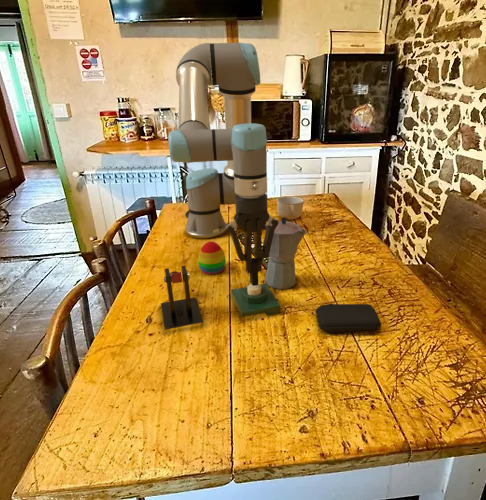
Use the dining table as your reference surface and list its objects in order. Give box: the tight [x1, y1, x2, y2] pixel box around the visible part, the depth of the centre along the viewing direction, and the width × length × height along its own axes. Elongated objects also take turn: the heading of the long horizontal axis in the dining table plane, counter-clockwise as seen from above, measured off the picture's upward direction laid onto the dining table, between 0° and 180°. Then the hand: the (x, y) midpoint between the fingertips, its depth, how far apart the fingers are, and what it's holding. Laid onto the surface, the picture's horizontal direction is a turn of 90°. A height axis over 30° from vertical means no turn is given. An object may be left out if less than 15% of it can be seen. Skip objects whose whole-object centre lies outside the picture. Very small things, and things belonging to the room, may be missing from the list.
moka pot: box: [252, 217, 308, 290], centre depth 111 cm, size 10×15×20 cm, turn 78°
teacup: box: [276, 195, 304, 221], centre depth 162 cm, size 14×11×8 cm
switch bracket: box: [160, 265, 204, 331], centre depth 97 cm, size 12×9×13 cm
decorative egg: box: [197, 240, 227, 275], centre depth 119 cm, size 8×8×10 cm
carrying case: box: [315, 302, 382, 333], centre depth 96 cm, size 11×3×15 cm
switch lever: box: [170, 270, 183, 284], centre depth 100 cm, size 13×3×3 cm, turn 18°
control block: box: [230, 283, 281, 318], centre depth 103 cm, size 12×10×4 cm
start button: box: [246, 283, 261, 296], centre depth 102 cm, size 4×4×2 cm
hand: (254, 282), depth 101 cm, fingers closed
